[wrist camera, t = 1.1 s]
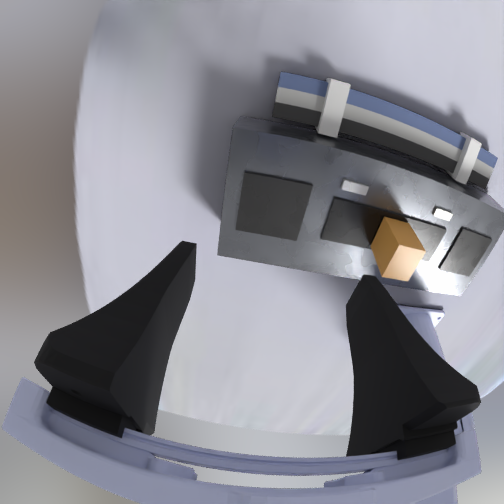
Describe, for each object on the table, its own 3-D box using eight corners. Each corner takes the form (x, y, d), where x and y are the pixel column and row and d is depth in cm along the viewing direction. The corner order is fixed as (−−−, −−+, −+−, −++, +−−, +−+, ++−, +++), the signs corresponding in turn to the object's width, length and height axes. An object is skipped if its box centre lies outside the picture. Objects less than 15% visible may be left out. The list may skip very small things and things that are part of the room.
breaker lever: (394, 251, 18) (407, 281, 15) (370, 246, 18) (381, 276, 15) (409, 223, 16) (426, 251, 14) (384, 216, 16) (399, 245, 14)
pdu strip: (447, 271, 23) (461, 297, 20) (225, 227, 22) (216, 257, 20) (489, 195, 17) (512, 217, 15) (240, 116, 17) (232, 128, 14)
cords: (477, 186, 17) (487, 195, 16) (271, 118, 17) (271, 123, 16) (492, 150, 15) (503, 157, 14) (281, 67, 15) (282, 67, 13)
